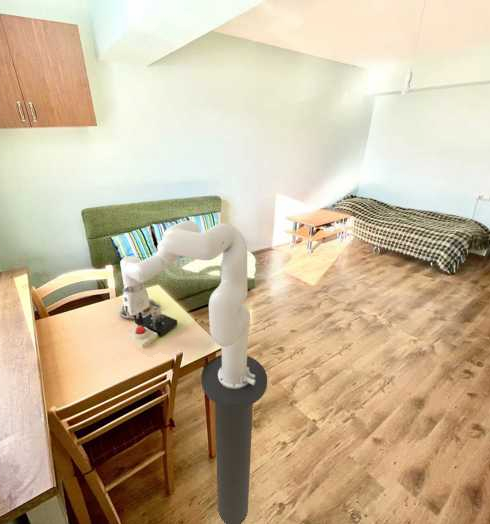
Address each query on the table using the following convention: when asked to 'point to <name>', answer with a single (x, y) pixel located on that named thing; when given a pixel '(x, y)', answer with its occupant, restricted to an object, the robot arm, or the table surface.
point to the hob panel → (159, 324)
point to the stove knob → (156, 316)
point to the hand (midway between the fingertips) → (139, 323)
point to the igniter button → (140, 330)
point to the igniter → (142, 337)
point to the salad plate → (146, 311)
